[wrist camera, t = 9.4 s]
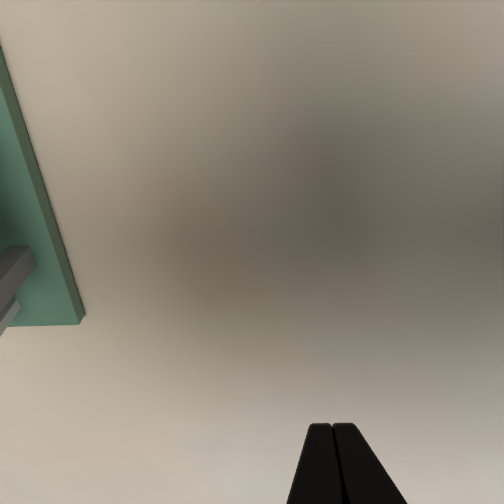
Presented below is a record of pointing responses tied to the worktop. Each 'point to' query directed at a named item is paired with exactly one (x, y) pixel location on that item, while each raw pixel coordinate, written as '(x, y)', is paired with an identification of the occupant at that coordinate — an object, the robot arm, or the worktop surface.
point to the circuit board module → (29, 232)
